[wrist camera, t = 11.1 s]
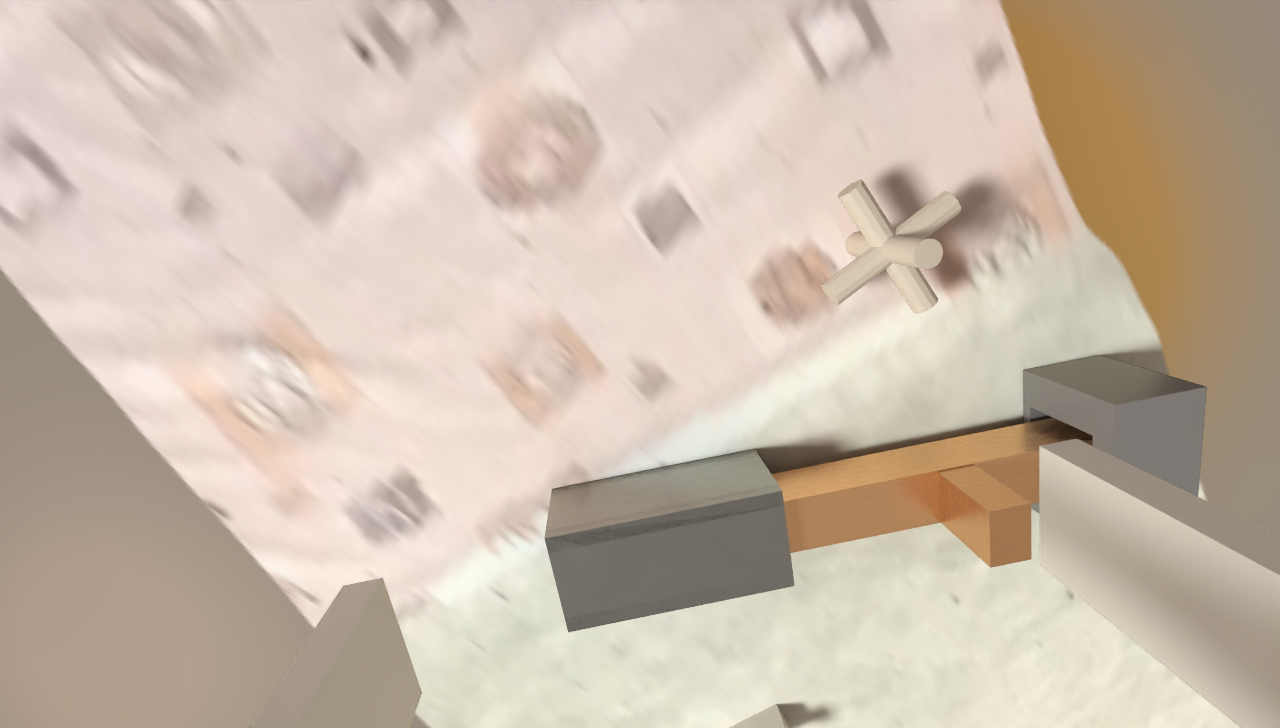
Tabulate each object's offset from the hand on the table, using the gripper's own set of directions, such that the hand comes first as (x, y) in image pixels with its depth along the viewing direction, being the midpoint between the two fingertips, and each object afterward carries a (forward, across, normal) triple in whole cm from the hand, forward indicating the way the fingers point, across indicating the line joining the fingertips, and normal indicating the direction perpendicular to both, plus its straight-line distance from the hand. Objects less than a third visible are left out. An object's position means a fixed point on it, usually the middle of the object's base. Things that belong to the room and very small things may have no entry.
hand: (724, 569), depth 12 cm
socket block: (+35, +34, -18) cm, 52 cm away
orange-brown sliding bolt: (+33, +19, -18) cm, 42 cm away
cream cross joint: (+35, +18, +1) cm, 39 cm away
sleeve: (+35, 0, -18) cm, 39 cm away
